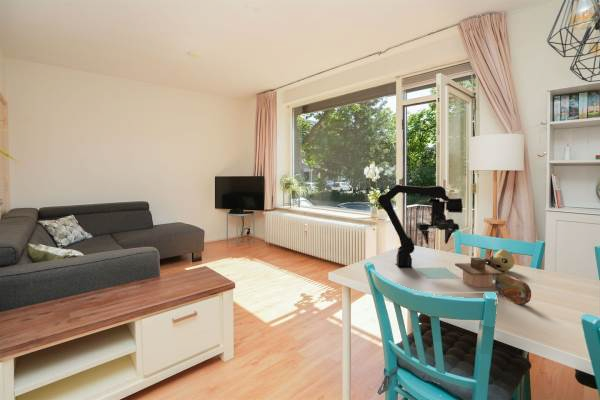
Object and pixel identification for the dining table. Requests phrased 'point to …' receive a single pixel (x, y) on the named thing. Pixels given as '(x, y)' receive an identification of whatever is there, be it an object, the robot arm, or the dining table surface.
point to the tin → (513, 289)
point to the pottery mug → (490, 263)
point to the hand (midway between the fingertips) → (436, 243)
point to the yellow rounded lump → (503, 260)
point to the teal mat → (437, 273)
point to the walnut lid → (478, 267)
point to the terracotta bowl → (477, 280)
